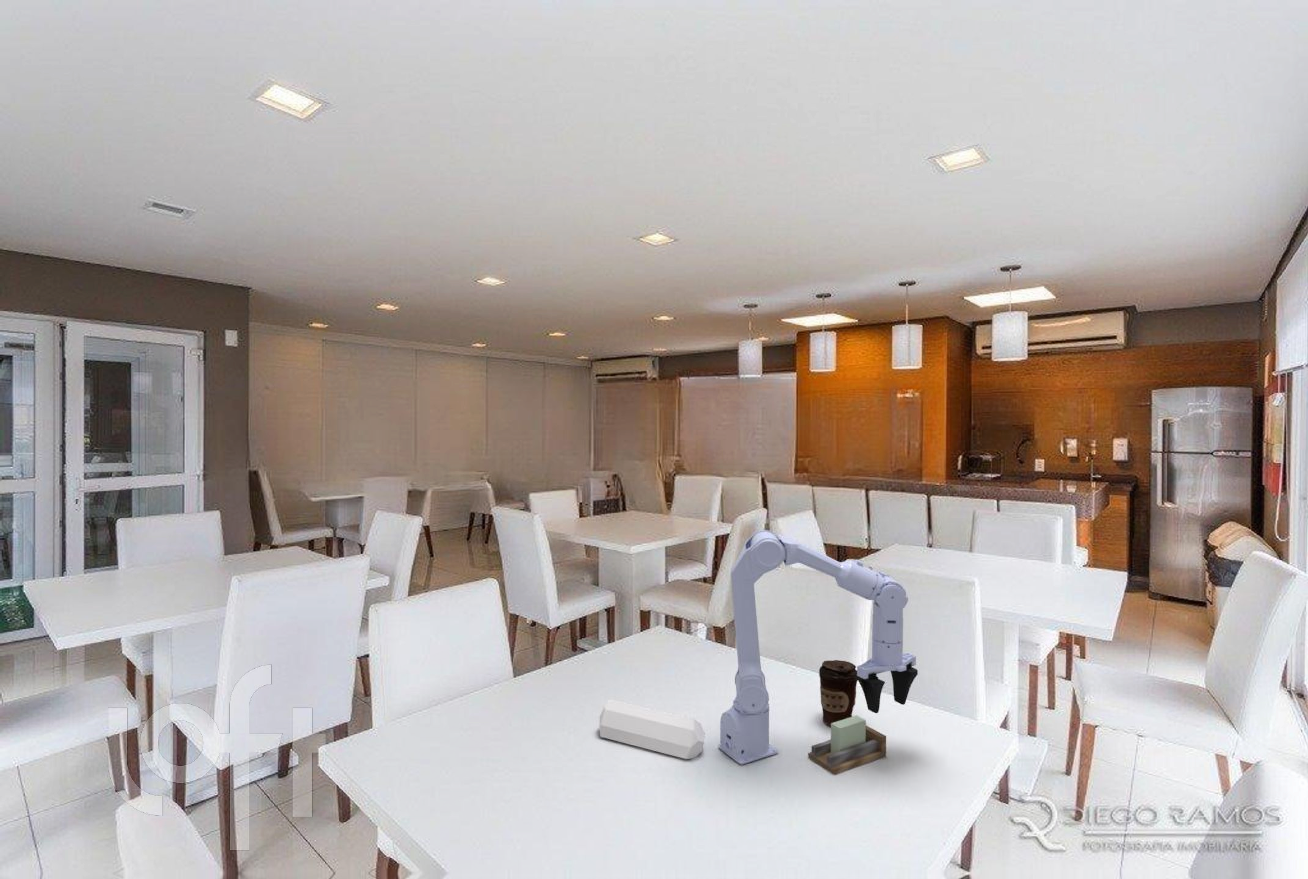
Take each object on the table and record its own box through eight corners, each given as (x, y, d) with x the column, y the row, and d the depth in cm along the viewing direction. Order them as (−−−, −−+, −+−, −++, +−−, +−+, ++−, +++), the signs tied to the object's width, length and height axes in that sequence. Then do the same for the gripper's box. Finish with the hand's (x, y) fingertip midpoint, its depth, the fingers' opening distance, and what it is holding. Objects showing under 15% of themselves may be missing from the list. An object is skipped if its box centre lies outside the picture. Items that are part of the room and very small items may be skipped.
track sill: (834, 774, 121) (834, 753, 121) (808, 757, 128) (808, 737, 127) (886, 755, 128) (886, 736, 128) (859, 740, 134) (859, 721, 134)
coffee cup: (849, 736, 136) (849, 675, 136) (811, 724, 141) (812, 666, 141) (863, 720, 143) (863, 662, 143) (827, 710, 148) (827, 654, 148)
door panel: (839, 758, 125) (840, 728, 125) (830, 753, 127) (831, 723, 127) (865, 749, 129) (865, 720, 129) (856, 744, 131) (856, 715, 131)
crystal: (586, 722, 134) (692, 749, 123) (602, 694, 140) (705, 717, 129) (596, 745, 138) (700, 773, 127) (611, 716, 143) (712, 741, 132)
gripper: (877, 651, 121) (876, 723, 121) (929, 638, 128) (928, 706, 128) (849, 640, 127) (848, 708, 127) (899, 628, 134) (899, 693, 134)
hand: (886, 706), depth 128 cm, fingers open, 7 cm apart
